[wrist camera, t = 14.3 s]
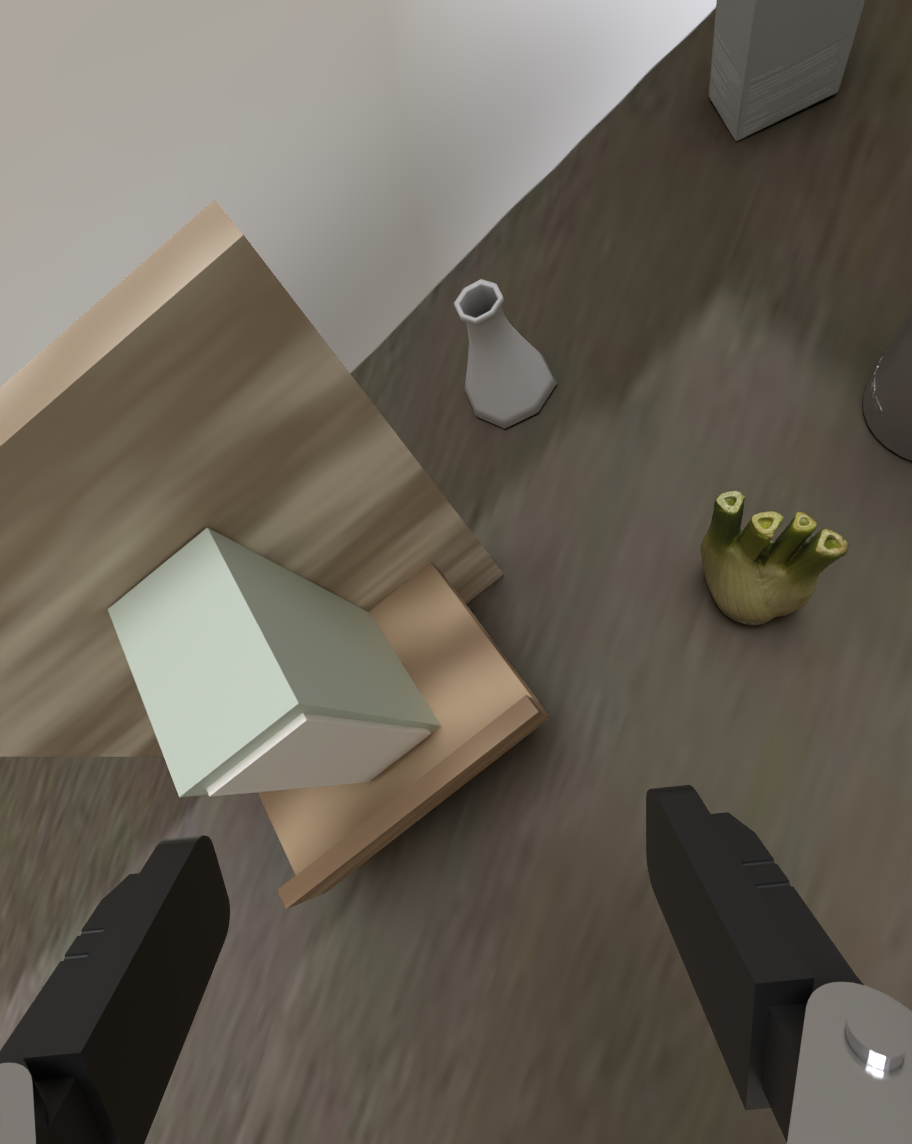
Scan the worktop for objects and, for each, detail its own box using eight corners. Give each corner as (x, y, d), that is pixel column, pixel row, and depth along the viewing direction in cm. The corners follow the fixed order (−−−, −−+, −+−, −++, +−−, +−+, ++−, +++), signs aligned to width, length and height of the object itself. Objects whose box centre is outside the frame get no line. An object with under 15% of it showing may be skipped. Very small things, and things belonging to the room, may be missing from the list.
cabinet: (444, 730, 31) (302, 711, 18) (372, 785, 31) (182, 805, 18) (370, 612, 34) (207, 527, 21) (305, 664, 34) (107, 609, 22)
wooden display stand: (602, 695, 37) (490, 530, 10) (344, 896, 38) (-379, 1231, 11) (451, 509, 45) (153, 127, 18) (239, 682, 46) (-348, 573, 19)
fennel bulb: (684, 573, 38) (700, 500, 27) (749, 533, 38) (792, 442, 27) (742, 646, 36) (785, 598, 25) (812, 604, 35) (887, 536, 24)
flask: (504, 444, 45) (468, 366, 36) (451, 393, 48) (406, 308, 39) (573, 384, 45) (556, 289, 36) (516, 335, 48) (486, 237, 39)
